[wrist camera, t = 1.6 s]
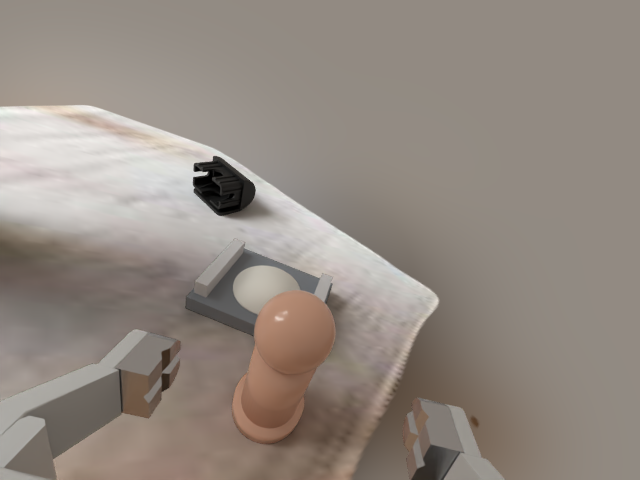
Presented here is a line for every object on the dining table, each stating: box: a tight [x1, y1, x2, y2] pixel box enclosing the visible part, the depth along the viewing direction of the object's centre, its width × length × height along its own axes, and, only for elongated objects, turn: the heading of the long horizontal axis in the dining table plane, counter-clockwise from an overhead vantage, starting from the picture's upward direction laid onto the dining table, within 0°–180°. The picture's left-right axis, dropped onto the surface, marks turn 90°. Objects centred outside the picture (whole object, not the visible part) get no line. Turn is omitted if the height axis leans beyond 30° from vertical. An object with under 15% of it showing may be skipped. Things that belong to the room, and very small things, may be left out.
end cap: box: [193, 156, 256, 216], centre depth 57 cm, size 10×7×7 cm
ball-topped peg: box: [232, 290, 336, 444], centre depth 27 cm, size 7×7×15 cm
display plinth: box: [186, 239, 333, 336], centre depth 41 cm, size 16×12×4 cm
